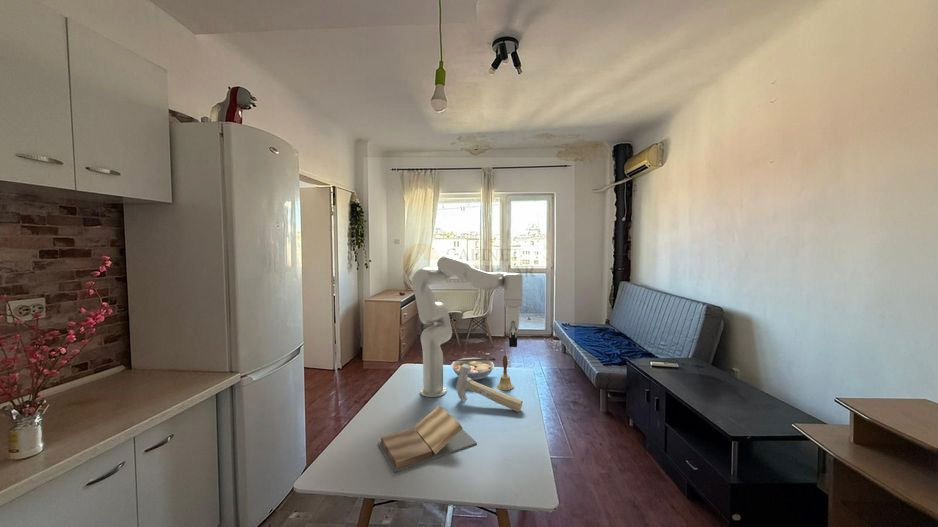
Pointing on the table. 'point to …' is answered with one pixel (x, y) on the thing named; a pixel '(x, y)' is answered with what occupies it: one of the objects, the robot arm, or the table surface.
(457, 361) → the ramen bowl
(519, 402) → the hammer
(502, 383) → the hand bell
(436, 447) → the oak plank
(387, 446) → the floor section
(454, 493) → the table surface
